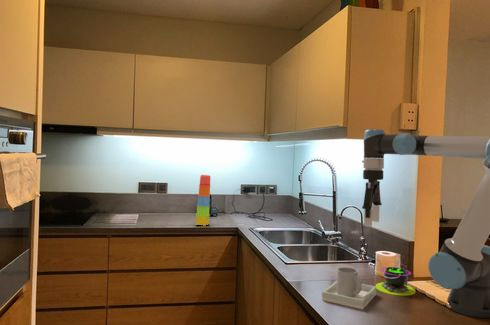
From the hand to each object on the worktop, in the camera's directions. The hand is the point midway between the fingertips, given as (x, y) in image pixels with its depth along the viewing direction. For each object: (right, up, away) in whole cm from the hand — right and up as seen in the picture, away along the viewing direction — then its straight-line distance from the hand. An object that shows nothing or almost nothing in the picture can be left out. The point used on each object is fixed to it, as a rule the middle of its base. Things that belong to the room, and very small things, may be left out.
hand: (371, 223), depth 160 cm
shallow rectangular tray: (-11, -26, -9) cm, 29 cm away
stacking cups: (-79, -20, +122) cm, 146 cm away
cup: (-11, -25, -9) cm, 29 cm away
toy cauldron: (+10, -26, +2) cm, 28 cm away
